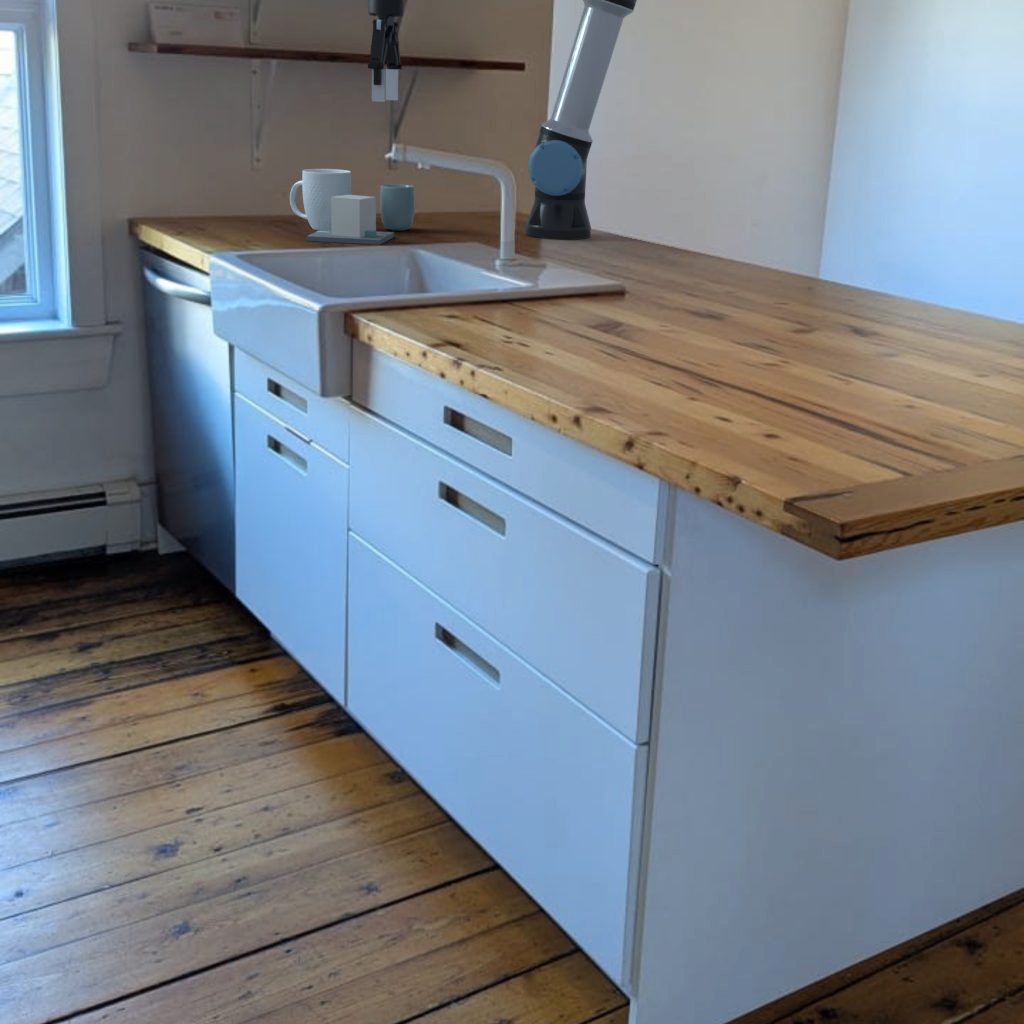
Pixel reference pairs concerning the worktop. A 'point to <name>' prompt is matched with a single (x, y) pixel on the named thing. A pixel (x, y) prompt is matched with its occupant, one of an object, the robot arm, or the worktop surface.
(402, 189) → the cup
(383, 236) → the post plate
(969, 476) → the worktop surface
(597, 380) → the worktop surface
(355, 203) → the grey cube
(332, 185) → the mug
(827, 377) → the worktop surface
